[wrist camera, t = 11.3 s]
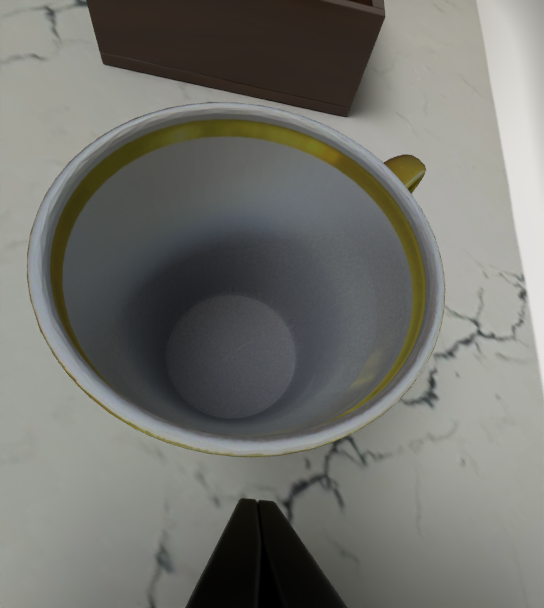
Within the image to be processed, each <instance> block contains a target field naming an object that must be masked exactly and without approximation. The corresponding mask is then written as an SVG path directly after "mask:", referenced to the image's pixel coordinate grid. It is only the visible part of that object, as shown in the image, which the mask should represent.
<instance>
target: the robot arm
mask: <svg viewBox="0 0 544 608" xmlns="http://www.w3.org/2000/svg"><path fill="white" fill-rule="evenodd" d="M185 608H347V606H346V605H345V604H344V602H343V601H342V599H341V598H340V596H339V595H338V593H337V592H336V590H335V589H334V587H333V586H332V585H331V583H330V582H329V580H328V579H327V577H326V576H325V574H324V573H323V571H322V570H321V569H320V567H319V566H318V564H317V563H316V561H315V560H314V558H313V557H312V555H311V554H310V553H309V551H308V550H307V548H306V547H305V545H304V544H303V542H302V541H301V539H300V538H299V537H298V535H297V534H296V532H295V531H294V529H293V528H292V526H291V525H290V523H289V522H288V521H287V519H286V518H285V516H284V515H283V513H282V512H281V510H280V509H279V507H278V506H277V505H276V503H275V502H274V501H267V500H259V501H258V502H257V501H256V500H255V499H245V498H241V499H240V500H239V502H238V504H237V506H236V508H235V509H234V511H233V513H232V515H231V517H230V519H229V521H228V523H227V525H226V527H225V529H224V531H223V533H222V535H221V537H220V539H219V541H218V543H217V545H216V547H215V549H214V551H213V553H212V555H211V557H210V559H209V561H208V563H207V565H206V567H205V569H204V571H203V573H202V575H201V577H200V579H199V581H198V583H197V585H196V587H195V589H194V591H193V593H192V595H191V597H190V599H189V601H188V603H187V605H186V607H185Z"/></svg>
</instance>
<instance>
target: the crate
mask: <svg viewBox="0 0 544 608" xmlns="http://www.w3.org/2000/svg"><path fill="white" fill-rule="evenodd" d="M86 1H87V5H88V9H89V12H90V16H91V20H92V24H93V28H94V32H95V36H96V39H97V43H98V47H99V51H100V54H101V58H102V62H103V64H107V65H112V66H117V67H121V68H126V69H130V70H135V71H139V72H144V73H149V74H153V75H158V76H162V77H167V78H171V79H176V80H181V81H185V82H190V83H194V84H199V85H203V86H208V87H213V88H217V89H222V90H226V91H231V92H235V93H240V94H245V95H249V96H254V97H258V98H263V99H267V100H272V101H277V102H281V103H286V104H290V105H295V106H299V107H304V108H309V109H313V110H318V111H322V112H327V113H331V114H336V115H341V116H345V117H347V115H348V112H349V110H350V107H351V105H352V102H353V99H354V97H355V94H356V92H357V89H358V86H359V84H360V81H361V79H362V76H363V73H364V71H365V68H366V66H367V63H368V60H369V58H370V55H371V53H372V50H373V47H374V45H375V42H376V40H377V37H378V34H379V32H380V29H381V27H382V24H383V21H384V19H385V8H384V0H86Z"/></svg>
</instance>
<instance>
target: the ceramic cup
mask: <svg viewBox="0 0 544 608" xmlns="http://www.w3.org/2000/svg"><path fill="white" fill-rule="evenodd" d="M425 171H426V168H425V165H424V164H423V163H422V162H421V161H420V160H419V159H418V158H416V157H414V156H412V155H401V156H397V157H394V158H391V159H389V160H387V161H386V162H384V163H383V162H382V161H380V160H379V159H378V158H377V157H375V156H374V155H373V154H372V153H370V152H369V151H368V150H367V149H365V148H364V147H362V146H361V145H359V144H358V143H356V142H355V141H353V140H352V139H350V138H348V137H347V136H345V135H343V134H341V133H339V132H337V131H336V130H334V129H332V128H330V127H328V126H326V125H324V124H321V123H319V122H316V121H314V120H311V119H309V118H306V117H304V116H301V115H297V114H294V113H291V112H287V111H284V110H280V109H275V108H271V107H266V106H260V105H252V104H243V103H219V102H208V103H199V104H190V105H182V106H177V107H171V108H166V109H163V110H159V111H156V112H152V113H149V114H146V115H143V116H140V117H137V118H135V119H132V120H130V121H128V122H126V123H124V124H122V125H120V126H118V127H116V128H114V129H112V130H111V131H109V132H107V133H106V134H104V135H102V136H101V137H99V138H98V139H96V140H95V141H94V142H92V143H91V144H89V145H88V146H87V147H86V148H84V149H83V150H82V151H81V152H80V153H79V154H78V155H77V156H75V157H74V158H73V159H72V160H71V161H70V162H69V163H68V164H67V166H66V167H65V168H64V169H63V171H62V172H61V173H60V174H59V175H58V177H57V178H56V179H55V181H54V182H53V184H52V185H51V187H50V188H49V190H48V191H47V193H46V195H45V197H44V199H43V201H42V203H41V205H40V207H39V210H38V212H37V215H36V218H35V221H34V224H33V227H32V230H31V233H30V239H29V246H28V253H27V280H28V287H29V294H30V300H31V303H32V306H33V309H34V312H35V316H36V319H37V322H38V325H39V328H40V331H41V333H42V335H43V336H44V338H45V340H46V342H47V344H48V345H49V347H50V349H51V351H52V353H53V355H54V356H55V357H56V359H57V360H58V362H59V363H60V364H61V366H62V367H63V369H64V370H65V371H66V373H67V374H68V375H69V376H70V377H71V378H72V380H73V381H74V382H75V383H76V384H77V385H78V386H79V387H80V388H81V389H82V390H83V391H84V392H85V393H86V394H87V395H88V396H89V397H90V398H91V399H93V400H94V401H95V402H96V403H98V404H99V405H100V406H101V407H103V408H104V409H105V410H106V411H108V412H109V413H110V414H112V415H113V416H115V417H117V418H118V419H120V420H122V421H123V422H125V423H126V424H128V425H130V426H131V427H133V428H135V429H137V430H139V431H141V432H143V433H145V434H147V435H149V436H152V437H154V438H157V439H159V440H162V441H164V442H167V443H170V444H173V445H176V446H179V447H182V448H186V449H191V450H195V451H199V452H204V453H208V454H217V455H226V456H234V457H266V456H278V455H286V454H291V453H296V452H301V451H306V450H311V449H314V448H317V447H320V446H323V445H326V444H329V443H332V442H335V441H337V440H339V439H342V438H344V437H346V436H348V435H350V434H352V433H354V432H356V431H358V430H360V429H362V428H363V427H365V426H366V425H368V424H369V423H371V422H373V421H374V420H376V419H377V418H379V417H380V416H382V415H383V414H384V413H385V412H386V411H387V410H388V409H390V408H391V407H392V406H393V405H394V404H395V403H396V402H397V401H398V400H399V399H400V398H401V397H402V396H403V395H404V394H405V393H406V392H407V391H408V390H409V389H410V387H411V386H412V385H413V383H414V382H415V380H416V379H417V377H418V376H419V374H420V373H421V372H422V370H423V369H424V367H425V366H426V364H427V362H428V360H429V358H430V356H431V354H432V351H433V349H434V347H435V344H436V341H437V338H438V335H439V332H440V329H441V324H442V319H443V314H444V302H445V281H444V271H443V265H442V260H441V256H440V252H439V249H438V246H437V242H436V239H435V236H434V234H433V232H432V229H431V227H430V225H429V222H428V221H427V219H426V217H425V215H424V213H423V211H422V209H421V208H420V206H419V205H418V203H417V202H416V200H415V199H414V197H413V196H412V194H411V193H412V192H413V191H414V190H415V188H416V187H417V186H418V184H419V183H420V181H421V180H422V178H423V176H424V174H425Z"/></svg>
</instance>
